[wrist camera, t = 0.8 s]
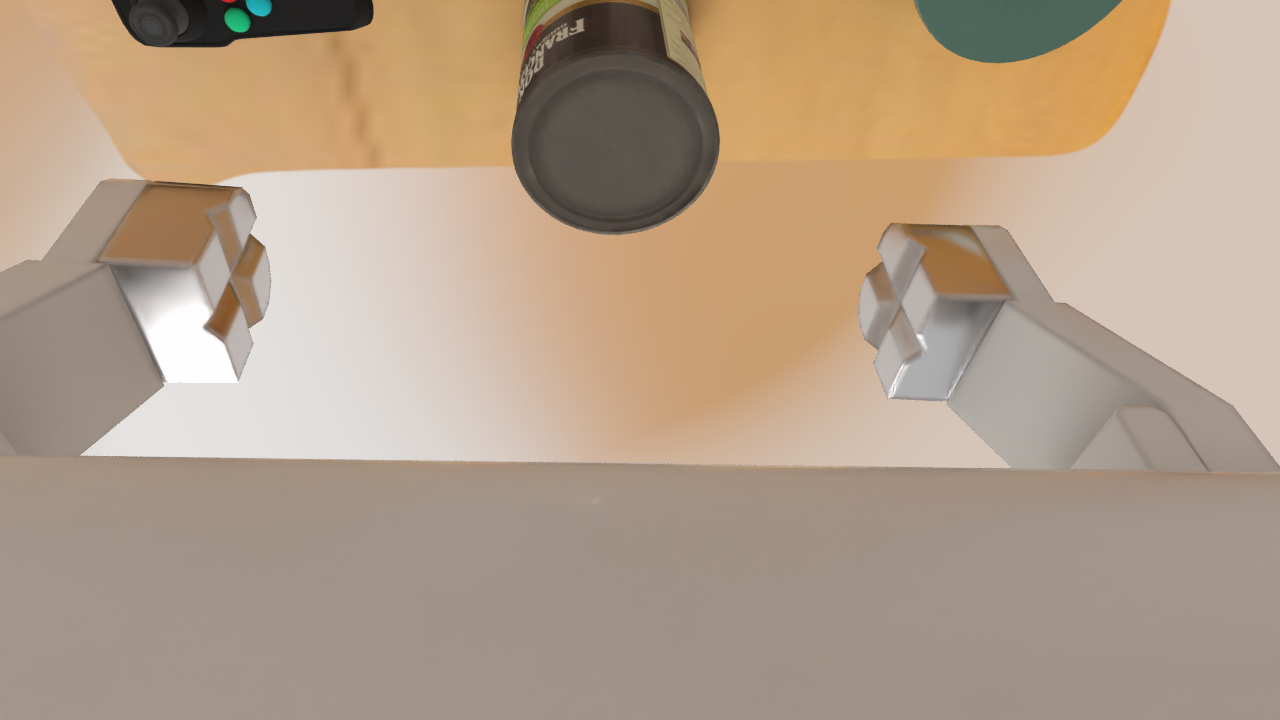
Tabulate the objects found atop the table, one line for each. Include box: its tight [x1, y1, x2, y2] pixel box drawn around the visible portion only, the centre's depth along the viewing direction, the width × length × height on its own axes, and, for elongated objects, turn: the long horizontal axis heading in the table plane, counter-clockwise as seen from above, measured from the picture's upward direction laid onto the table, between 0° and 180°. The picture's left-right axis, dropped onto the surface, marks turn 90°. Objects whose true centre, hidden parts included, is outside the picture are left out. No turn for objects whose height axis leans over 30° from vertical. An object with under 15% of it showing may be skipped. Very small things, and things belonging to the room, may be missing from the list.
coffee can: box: [511, 0, 720, 235], centre depth 44 cm, size 10×10×14 cm
